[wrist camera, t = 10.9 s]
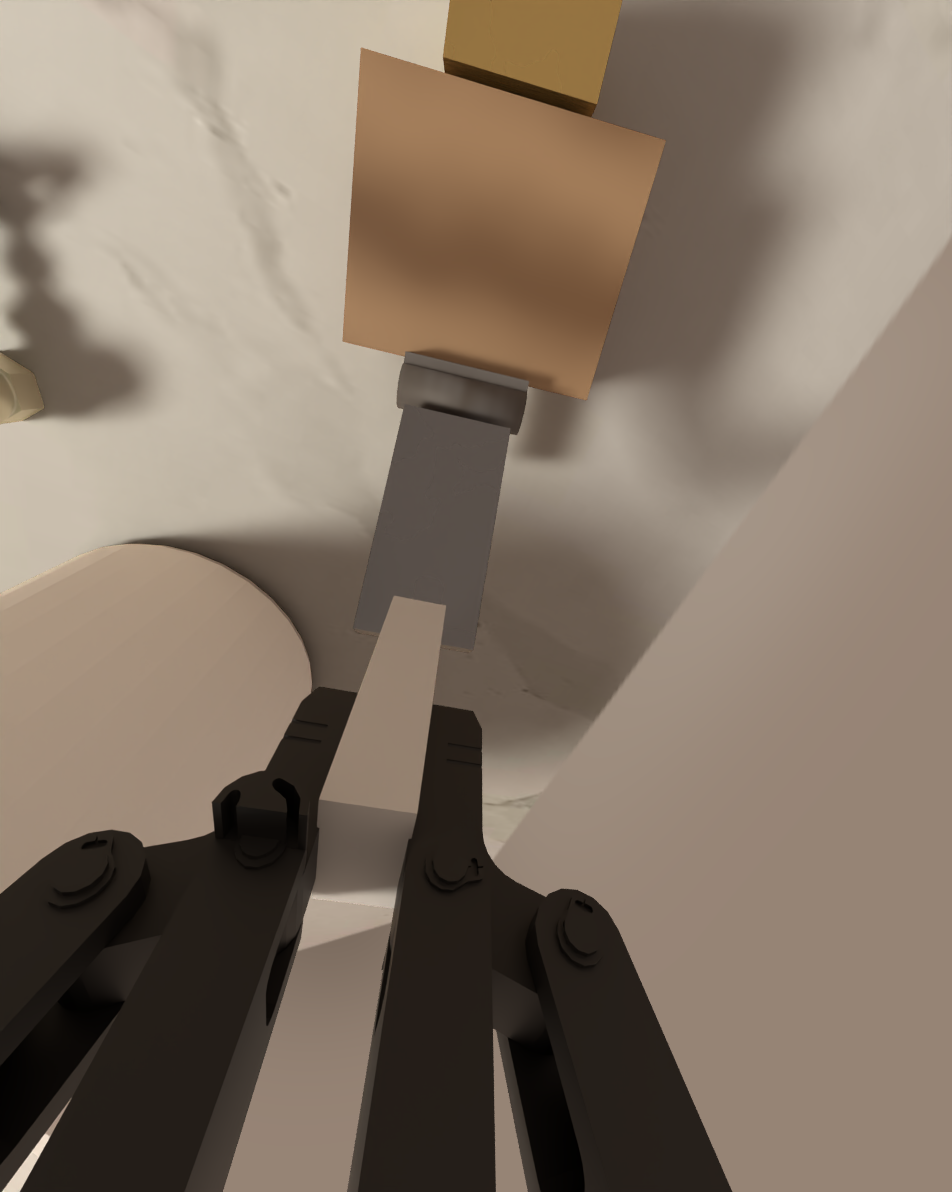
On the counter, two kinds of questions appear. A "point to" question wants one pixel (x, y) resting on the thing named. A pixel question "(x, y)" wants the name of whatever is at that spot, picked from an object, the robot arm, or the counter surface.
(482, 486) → the lever
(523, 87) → the pin
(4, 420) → the valve
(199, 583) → the bucket
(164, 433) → the counter surface
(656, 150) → the block
